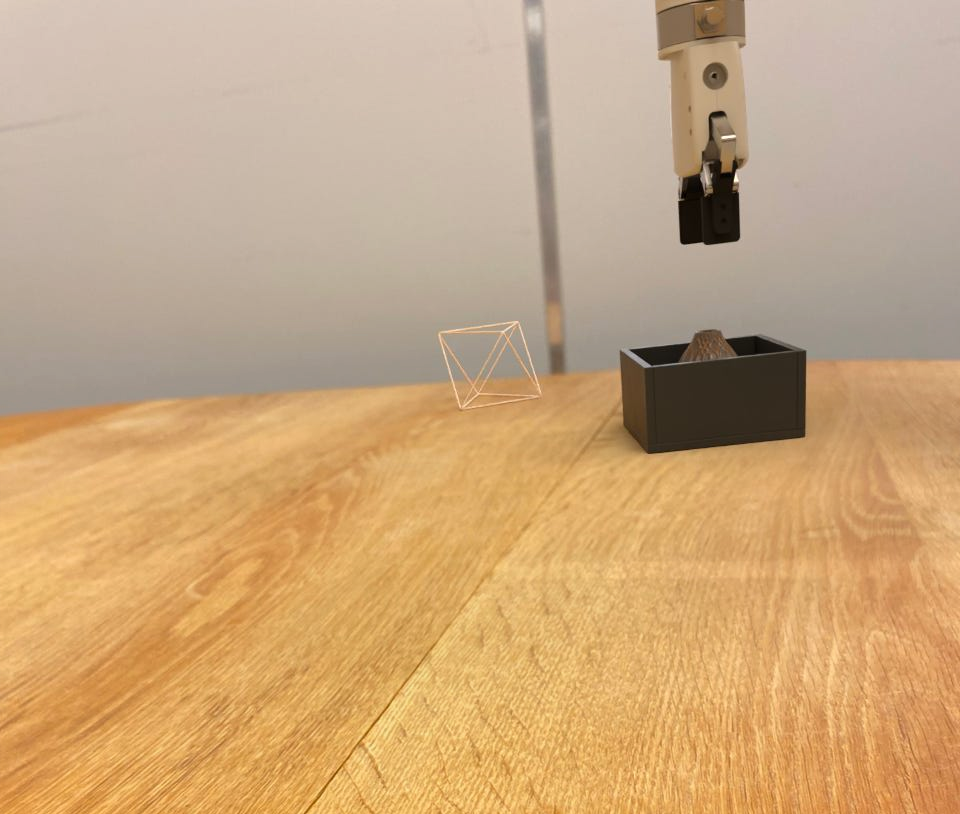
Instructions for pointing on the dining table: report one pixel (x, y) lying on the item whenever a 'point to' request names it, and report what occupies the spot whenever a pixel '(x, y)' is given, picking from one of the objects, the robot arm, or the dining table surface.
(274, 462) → the dining table surface
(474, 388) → the geometric polyhedron
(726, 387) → the bin
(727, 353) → the vase
